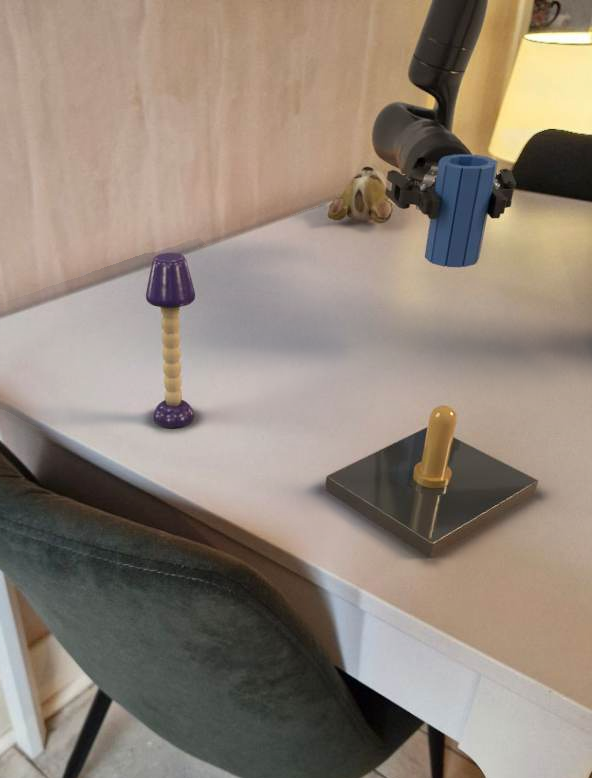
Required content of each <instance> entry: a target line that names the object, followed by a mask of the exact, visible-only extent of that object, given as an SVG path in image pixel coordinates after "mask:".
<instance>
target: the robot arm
mask: <svg viewBox="0 0 592 778" xmlns="http://www.w3.org/2000/svg"><path fill="white" fill-rule="evenodd" d="M488 4H489V0H431V3H430V6H429V8H428V11H427V15H426V17H425V20H424V23H423V26H422V28H421V31H420V34H419V37H418V40H417V42H416V45H415V48H414V51H413V54H412V57H411V60H410V62H409V66H408V70H407V79H408V81H409V82H410V83H411V84H412V85H413V86H414V87H416V88H417V89H419V90H420V91H423V92H425V93H427V94H428V95H429V96H430V97H432V98H433V99H434V105H433V107H432V108H429V107H424V106H419V105H415V104H411V103H408V102H403V101H394V102H391V103H388V104H387V105H385V106H384V107H383V108H382V109H381V110H380V111H379V113H378V114H377V116H376V117H375V120H374V122H373V126H372V130H371V142H372V147H373V151H374V152H375V154H376V156H377V157H378V158H379V159H380V160H382V161H383V162H384V163H386V164H388V165H390V166H393V167H394V168H397V169H398V170H399V171H398V170H395V169H391V170H388V171H387V176H386V179H387V183H386V191H385V195H386V196H387V197H388V198H389V199H388V200H389V201H392V203H393V204H395V206H397V208H400V209H402V210H405V209H409V208H410V207H411V205H414V206H415V210H418V211H420V212H421V214H423V215H424V216H427V217H428V219H429V220H430V219H437V217H438V211H439V204H440V197H439V195H438V194H437V192H436V191H435V185H436V178H437V172H438V165H439V161H440V160H441V158H442V157H444V156H450V155H455V154H456V155H458V154H473V153H472V151H471V150H470V149H469V148H468V147H467V146H466V145H465V144H464V143H463V142H462V141H461V140H460V138H458V136H457V135H456V134H454V133H453V127H454V126H453V125H454V119H455V118H454V117H455V111H456V106H457V100H458V96H459V92H460V88H461V85H462V81H463V78H464V76H465V73H466V70H467V68H468V66H469V63H470V60H471V58H472V56H473V53H474V50H475V48H476V46H477V43H478V40H479V38H480V35H481V32H482V30H483V27H484V22H485V20H486V14H487V9H488ZM516 184H517V181H516V179H515V177H514V175H513V172H512V170H510V169H508V168H502V169H499V171H496V175H495V180H494V185H493V190H492V195H491V200H490V205H489V210H488V215H487V216H489V217H490V218H491V219H500V218H501V215H504V213H505V211H506V209H507V208H510V207H512V203H513V201H512V200H513V195H514V191H515V188H516Z"/></svg>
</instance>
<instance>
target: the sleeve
mask: <svg viewBox="0 0 592 778" xmlns="http://www.w3.org/2000/svg"><path fill="white" fill-rule="evenodd" d="M498 163H499V161H497V160H496V159H494V158H493V157H490V156H485V155H479V154H473V153H472V154H458V155H456V154H455V155H450V156H444V157H442V158H441V160H440V161H439V165H438V172H437V178H436V185H435V191H436V192H437V194H438V195H439V197H440V204H439V211H438V217H437V219H429V226H428V231H427V237H426V245H425V252H424V258H425V259H426V260H427V261H428V262H429V263H430V264H433V265H435V266H436V265H437V266H441V267H444V268H445V267H446V268H465V267H470V266H473V265H476V264H477V263H478V261H479V259H480V256H481V251H482V245H483V240H484V235H485V230H486V225H487V220H488V216H489V215H488V210H489V205H490V200H491V195H492V190H493V185H494V180H495V176H496V173H497V168H498Z"/></svg>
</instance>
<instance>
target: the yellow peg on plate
mask: <svg viewBox="0 0 592 778" xmlns="http://www.w3.org/2000/svg"><path fill="white" fill-rule="evenodd" d="M457 421H458V416H457V413H456V411H455V409H454V408H452V407H451V406H449V405H443V404H442V405H438V406H436V407H434V409H432V411H430V414H429V418H428V422H427V426H426V427H424V428H422V429H420V430H418V431H416V432H414V433H412V434H410V435H408V436H406V437H403V438H401V439H399V440H398V441H396V442H394V443H391V444H389V445H387V446H386V447H383V448H381V449H380V450H376V451H375V452H373V453H370V454H369V455H367V456H365V457H363V458H361V459H358V460H357V461H354V462H352V463H350V464H348V465H346V466H344V467H342V468H340V469H338V470H336V471H334V472H332V473H330V474H328V475H326V477H325V486H324V487H325V488H324V490H325V491H326V492H328V493H329V494H331V495H333V496H334V497H336V498H337V499H339V500H340V501H342V502H343V503H345V504H347V505H348V506H350V508H352V509H354V510H355V511H357V512H359V513H361V514H362V515H363V516H365V517H366V518H368V519H370V520H371V521H373V522H374V523H376V524H378V525H379V526H380V527H382V528H384V529H385V530H386V531H388V532H390V533H391V534H393V535H394V536H395V537H397V538H399V539H400V540H402V541H403V542H405V543H406V544H408V545H409V546H411V547H413V548H415V549H416V550H417V551H418V552H420V553H422V554H423V555H425V556H426V557H428V558H432V557H433V556H436V555H437V554H440V552H442V551H444V550H445V549H447V548H449V547H450V546H452V545H454V544H455V543H457V542H458V541H459V540H462V539H463V538H465V537H466V536H468V535H470V534H471V533H473V532H475V531H476V530H478V529H480V528H482V527H484V525H486V524H488V523H490V522H492V521H493V520H494V519H496V518H498V517H499V516H501V515H502V514H504V513H506V512H507V511H509V510H512V509H513V508H514V507H515V506H518V505H519V504H521V503H522V502H524V501H525V500H527V499H529V498H530V497H532V496H534V495H535V494H536V490H537V486H538V483H539V480H538V479H536V478H534V477H532V476H531V475H529V474H527V473H525V472H523V471H520V470H519V469H517V468H515V467H513V466H511V465H509V464H507V463H505V462H503V461H502V460H499V459H497V458H496V457H493V456H492V455H490V454H487V453H485V452H483V451H482V450H480V449H477V448H475V447H474V446H472V445H470V444H468V443H465V442H464V441H462V440H460V439H458V438H456V437H454V435H455V430H456V427H457V426H456V425H457Z"/></svg>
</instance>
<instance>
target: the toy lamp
mask: <svg viewBox="0 0 592 778" xmlns="http://www.w3.org/2000/svg"><path fill="white" fill-rule="evenodd" d="M146 286H147V287H146V291H145V300H146V302H147V303H149V304H150V305H152V306H154V307H158V308H160V312H161V315H162V318H161V323H160V324H161V329H162V331H163V332H162V335H161V341H162V345H163V347H162V359H163V361H164V362H163V366H162V369H163V374H164V375H165V376H164V378H163V385H164V388H165V391H164V400H162V401H161V402H159V403H158V405H157V406H156V407H155V409H154V412H153V422H154V423H155V424H156V425H158V426H161V427H165V428H170V429H174V428H181V427H185V426H187V425H189V424H191V423H192V422H193V421H194V419H195V412H194V409H193V407H192V406H191V405H190V403H188V402H187V401H186V400H184V399H183V392H182V390H181V388H182V382H183V379H182V376H181V373H182V363H181V361H180V359H181V355H182V351H181V348H180V344H181V333H180V332H179V330H180V327H181V320H180V317H179V314H180V309H181V308H182V307H185V306H189V305H190V304H192V303H193V302H194V301H195V300H196V291H195V287H194V284H193V280H192V276H191V272H190V268H189V265H188V261H187V259H186V257H185V256H184V255H183V254H181V253H177V252H163V253H159V254H157V255H155V256H154V257H153V259H152V262H151V267H150V271H149V276H148V280H147V285H146Z"/></svg>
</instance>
